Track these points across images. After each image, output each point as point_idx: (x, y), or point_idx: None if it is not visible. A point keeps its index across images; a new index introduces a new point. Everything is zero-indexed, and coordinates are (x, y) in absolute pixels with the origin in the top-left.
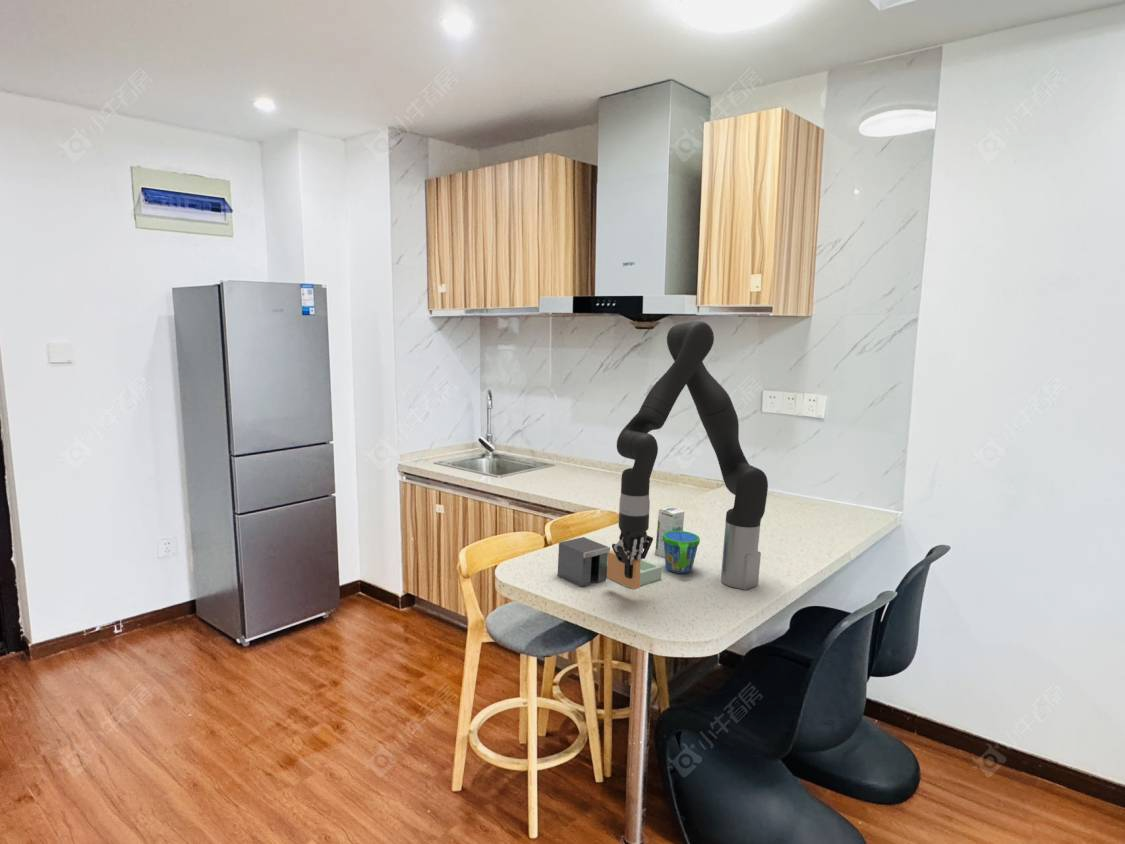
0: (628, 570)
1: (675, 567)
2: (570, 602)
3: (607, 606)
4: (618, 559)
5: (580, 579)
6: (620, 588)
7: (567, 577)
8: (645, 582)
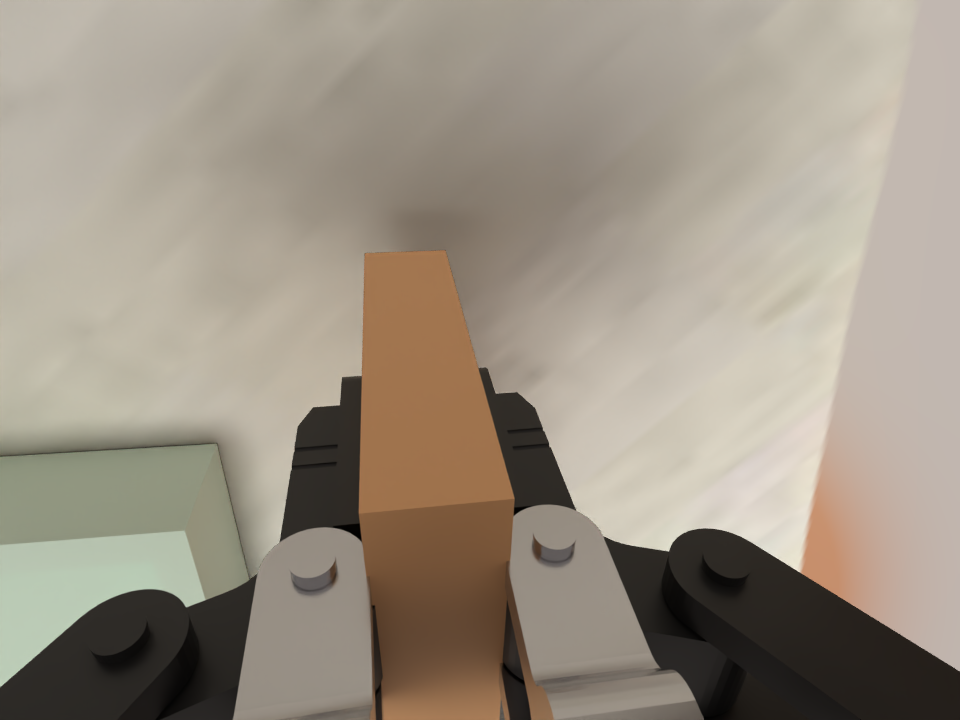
0: (554, 457)
1: None
2: (787, 461)
3: (665, 287)
4: (750, 684)
5: None
6: None
7: None
8: (5, 465)
